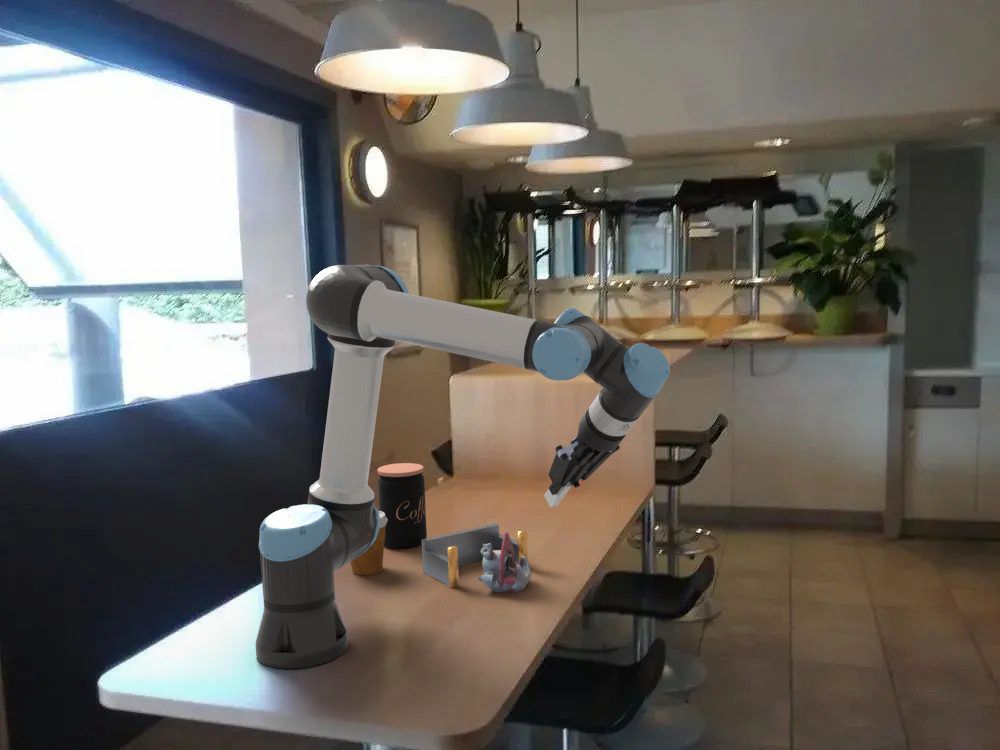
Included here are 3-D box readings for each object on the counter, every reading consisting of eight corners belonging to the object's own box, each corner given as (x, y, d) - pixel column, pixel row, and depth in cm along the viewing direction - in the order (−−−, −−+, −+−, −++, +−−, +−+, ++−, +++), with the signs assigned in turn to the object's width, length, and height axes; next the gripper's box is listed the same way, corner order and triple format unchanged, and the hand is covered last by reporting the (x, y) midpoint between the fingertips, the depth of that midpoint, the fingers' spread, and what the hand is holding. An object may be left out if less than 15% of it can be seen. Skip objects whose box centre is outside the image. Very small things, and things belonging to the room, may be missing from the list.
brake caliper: (534, 585, 167) (495, 535, 168) (491, 616, 170) (453, 567, 170) (546, 566, 178) (509, 519, 178) (505, 595, 181) (470, 549, 181)
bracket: (452, 588, 173) (450, 549, 173) (421, 572, 184) (420, 535, 183) (530, 568, 184) (528, 531, 183) (497, 553, 194) (495, 518, 193)
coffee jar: (398, 553, 197) (394, 475, 195) (372, 543, 205) (368, 468, 203) (436, 543, 204) (432, 467, 202) (409, 533, 212) (406, 460, 210)
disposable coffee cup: (335, 571, 186) (332, 516, 185) (370, 560, 193) (368, 507, 192) (363, 581, 180) (360, 524, 178) (399, 569, 186) (396, 514, 185)
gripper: (587, 444, 139) (530, 524, 154) (648, 433, 146) (587, 511, 162) (566, 407, 143) (512, 489, 158) (626, 399, 150) (569, 478, 165)
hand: (550, 500), depth 160 cm, fingers closed
